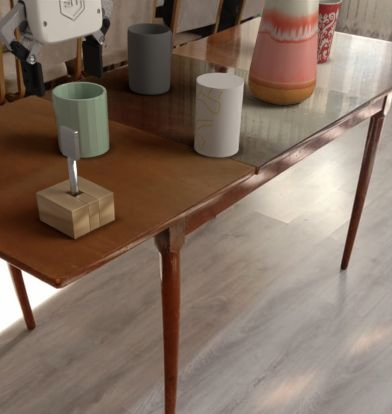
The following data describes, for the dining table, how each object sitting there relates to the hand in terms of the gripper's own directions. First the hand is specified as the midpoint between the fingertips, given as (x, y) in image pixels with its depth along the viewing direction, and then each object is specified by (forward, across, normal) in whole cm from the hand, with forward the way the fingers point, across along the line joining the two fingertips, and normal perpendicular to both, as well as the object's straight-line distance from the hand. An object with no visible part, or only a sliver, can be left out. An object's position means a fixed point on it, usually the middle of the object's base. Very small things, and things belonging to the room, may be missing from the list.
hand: (65, 84), depth 81 cm
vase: (+21, +64, +9) cm, 68 cm away
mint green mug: (+20, +18, +21) cm, 34 cm away
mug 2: (+21, +94, +21) cm, 98 cm away
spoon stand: (+20, 0, 0) cm, 20 cm away
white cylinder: (+20, +34, +2) cm, 40 cm away
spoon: (+20, 0, 0) cm, 20 cm away
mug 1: (+20, +50, +33) cm, 64 cm away
